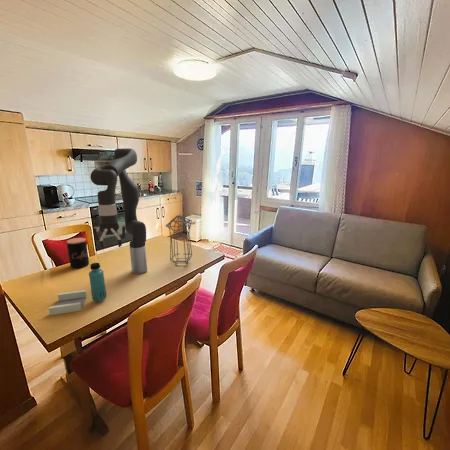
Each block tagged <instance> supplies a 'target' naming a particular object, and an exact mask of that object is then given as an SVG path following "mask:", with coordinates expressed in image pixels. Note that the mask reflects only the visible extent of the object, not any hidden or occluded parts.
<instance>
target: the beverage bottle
mask: <svg viewBox="0 0 450 450" xmlns="http://www.w3.org/2000/svg"><path fill="white" fill-rule="evenodd" d="M89 268H90V272H88V277H89V283H90V284H89V285H90V290H91V292H90V293H91V299H92V301H93V302H101V301H104V300H105V299H106V298H107V289H106V282H105V281H106V280H105V275H104V270H103V269H101V263H99V262H93V263H91V264H90V267H89Z"/></svg>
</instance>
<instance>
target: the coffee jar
mask: <svg viewBox="0 0 450 450" xmlns="http://www.w3.org/2000/svg"><path fill="white" fill-rule="evenodd" d="M86 241H87V239H86V238H85V237H74V238H70V239H67V240H66V244H67V246H66V248H67V252H68V260H69V266H70V267H71V269H82V268H85V267H88V265H89V263H90V260H89V254H88V245H87V242H86Z"/></svg>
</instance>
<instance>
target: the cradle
mask: <svg viewBox="0 0 450 450" xmlns="http://www.w3.org/2000/svg"><path fill="white" fill-rule="evenodd" d="M57 298H58V301H57V303H56V304H55V305H52V306H51V305H50V306H49V307H48V311H49V316H53V315H61V314H68V313H73V312H81V311H82V308H83V306H84V303H85V301H86V300H87V298H88V293H87V289H85V290H84V289H83V290H77V291H76V290H74V291H69V292H66V291H65V292H60V293H59V292H58V294H57Z"/></svg>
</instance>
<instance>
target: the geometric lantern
mask: <svg viewBox="0 0 450 450" xmlns="http://www.w3.org/2000/svg"><path fill="white" fill-rule="evenodd" d="M172 223H174V225H172ZM182 223H183V224H182ZM192 223H193V220H191V219H189V218H187V217H185V216H183V215H181V214H178V215H176V216H175V217H174V218H172V219H171V220H170V221H169V222H168V223H167V224H165V227H166V228H168V229H169V236H170V238H169V239H170V241H169V242H170V243H169V244H170V245H169V247H170V248H169V249H170V253H169V254H170V255H169V257H170V261H169V262H172V263H174V264H175V265H176V266H175V267H180V266H179V265H178V263H189V262H188V261H191V259H192V257H193V251H192V245H191V244H192V243H191V237H190V233H191V227H192V226H191V225H192ZM176 224H177V226H176ZM176 228H177V229H176ZM187 228H188V229H187ZM175 229H176V230H175ZM183 229H185V231H186V235H185V236H184V234H183V232H182V231H181V230H183ZM171 230H172V231H173V232H171ZM178 232H179V233H180V235H182V238H183V248H184V249H183V251H184V257H182V258H180V257H179V252H178V251H179V250H178V249H179V248H178V243H176V242H175V240H176V239H178V238H180V236H178ZM175 233H176V235H175ZM185 239H186V240H185ZM175 243H176V244H175ZM172 244H173V245H172ZM175 246H176V247H175ZM175 248H176V250H175ZM186 249H187V253H186ZM175 252H176V253H175ZM174 257H175V259H176V260H174ZM176 262H177V263H176Z"/></svg>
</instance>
